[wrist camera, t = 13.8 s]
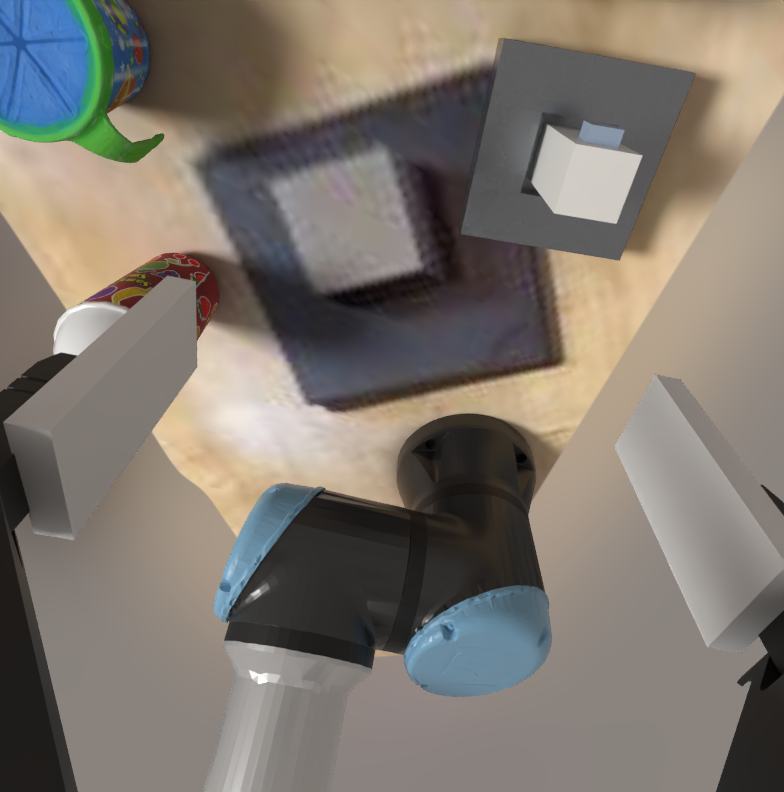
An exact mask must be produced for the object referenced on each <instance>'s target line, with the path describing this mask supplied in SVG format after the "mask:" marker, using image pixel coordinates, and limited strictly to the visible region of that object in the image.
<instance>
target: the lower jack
mask: <svg viewBox="0 0 784 792" xmlns="http://www.w3.org/2000/svg"><path fill="white" fill-rule="evenodd" d="M694 76H695V73H693V72H687V71H682V70H676V69H671V68H665V67H660V66H654V65H649V64H643V63H638V62H632V61H627V60H621V59H616V58H610V57H605V56H599V55H594V54H588V53H583V52H577V51H571V50H566V49H560V48H555V47H549V46H544V45H538V44H533V43H527V42H522V41H516V40H511V39H505V38H500V39H499V41H498V46H497V50H496V55H495V59H494V64H493V69H492V73H491V78H490V82H489V87H488V92H487V96H486V101H485V105H484V110H483V114H482V119H481V124H480V128H479V133H478V137H477V142H476V147H475V151H474V156H473V160H472V165H471V169H470V174H469V179H468V183H467V188H466V192H465V197H464V202H463V206H462V211H461V215H460V220H459V227H460V233H461V234H464V235H470V236H476V237H482V238H488V239H494V240H500V241H506V242H512V243H518V244H524V245H530V246H536V247H542V248H548V249H554V250H560V251H566V252H572V253H578V254H584V255H590V256H596V257H602V258H608V259H614V260H620V258H621V256H622V253H623V251H624V248H625V246H626V243H627V241H628V239H629V236H630V234H631V231H632V229H633V226H634V224H635V221H636V219H637V216H638V214H639V211H640V209H641V206H642V204H643V202H644V199H645V197H646V194H647V192H648V189H649V187H650V184H651V182H652V179H653V177H654V174H655V172H656V169H657V167H658V165H659V162H660V160H661V157H662V155H663V152H664V150H665V147H666V145H667V142H668V140H669V137H670V135H671V132H672V130H673V128H674V125H675V123H676V120H677V118H678V115H679V113H680V110H681V108H682V105H683V103H684V100H685V98H686V95H687V93H688V91H689V88H690V86H691V83H692V81H693V78H694ZM584 120H585V121H591V122H596V123H602V124H608V125H614V126H617V127H619V128H621V129H623V130H625V131H624V134H623V136H622V139H621V142H620V144H622V145H624V146H626V147H628V148H629V149H631V150H633V151H635V152H637V153H639V154H641V155H643V156H642V158H641V161H640V164H639V166H638V169H637V171H636V174H635V177H634V179H633V182H632V184H631V187H630V190H629V192H628V195H627V197H626V200H625V203H624V205H623V208H622V210H621V213H620V216H619V218H618V221H617V223H616V224H614V223H608V222H602V221H596V220H590V219H584V218H578V217H572V216H567V215H561V214H555V213H553V211H552V210H551V209H550V207H549V206H548V205H547V203H546V202H545V201H544V199H543V198H542V196H541V195H540V194H539V192H538V191H537V190H536V188H535V187H534V186H533V184H532V183H531V182H530V180H529V175H530V172H531V168H532V164H533V161H534V157H535V154H536V150H537V146H538V143H539V139H540V136H541V132H542V128H543V125H544V122H546V123H552V124H558V125H564V126H569V127H575V128H582V125H583V121H584Z"/></svg>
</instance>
